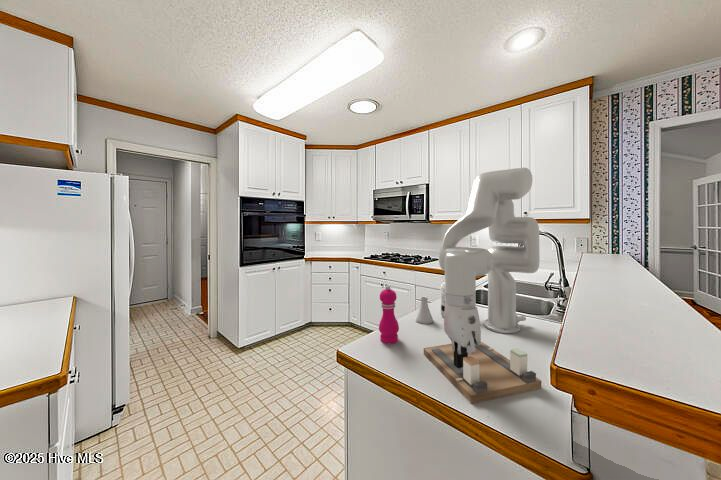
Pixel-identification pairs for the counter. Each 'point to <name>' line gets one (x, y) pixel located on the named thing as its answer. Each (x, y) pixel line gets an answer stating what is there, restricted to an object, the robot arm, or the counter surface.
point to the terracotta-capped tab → (470, 369)
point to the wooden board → (482, 373)
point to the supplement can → (442, 298)
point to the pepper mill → (388, 317)
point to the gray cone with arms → (424, 312)
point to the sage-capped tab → (518, 361)
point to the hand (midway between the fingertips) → (460, 365)
